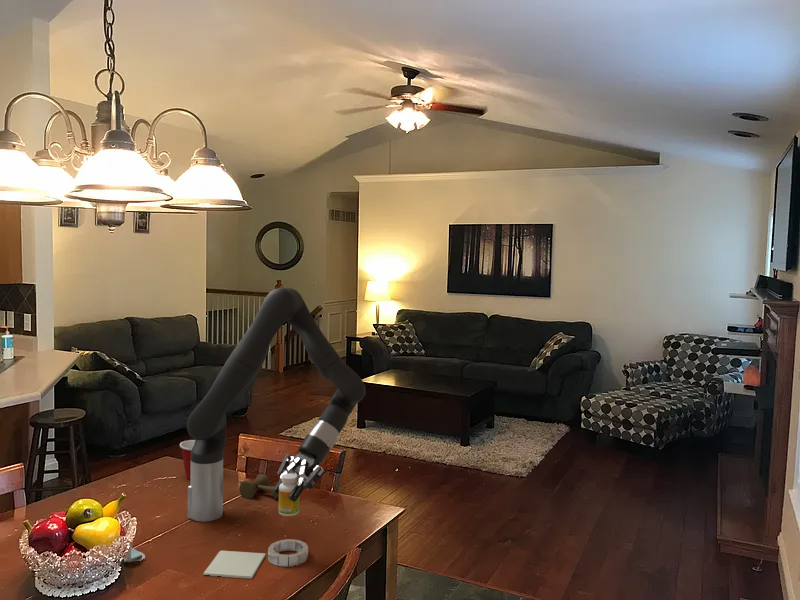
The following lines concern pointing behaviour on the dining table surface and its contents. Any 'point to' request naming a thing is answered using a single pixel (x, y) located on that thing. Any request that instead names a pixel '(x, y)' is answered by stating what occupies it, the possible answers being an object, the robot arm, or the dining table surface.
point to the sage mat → (235, 564)
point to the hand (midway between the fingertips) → (283, 496)
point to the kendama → (256, 487)
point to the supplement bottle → (285, 490)
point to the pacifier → (133, 555)
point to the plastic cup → (187, 456)
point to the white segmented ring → (287, 559)
